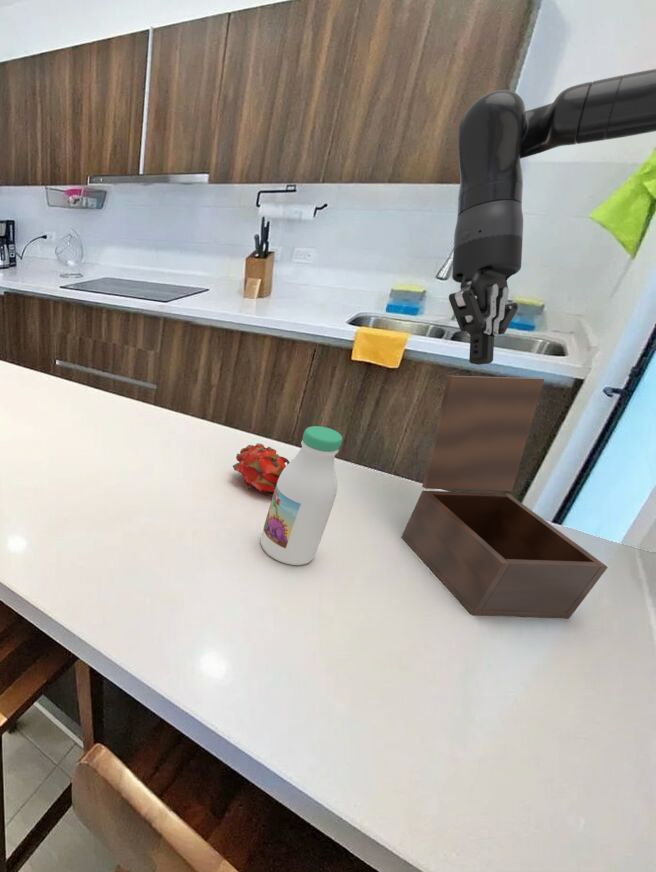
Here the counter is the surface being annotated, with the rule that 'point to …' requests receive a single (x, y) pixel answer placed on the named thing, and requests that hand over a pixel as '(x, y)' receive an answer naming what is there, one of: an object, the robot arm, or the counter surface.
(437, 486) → the tea lid
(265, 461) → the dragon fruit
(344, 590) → the counter surface
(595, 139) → the robot arm
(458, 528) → the tea box
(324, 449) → the milk bottle
